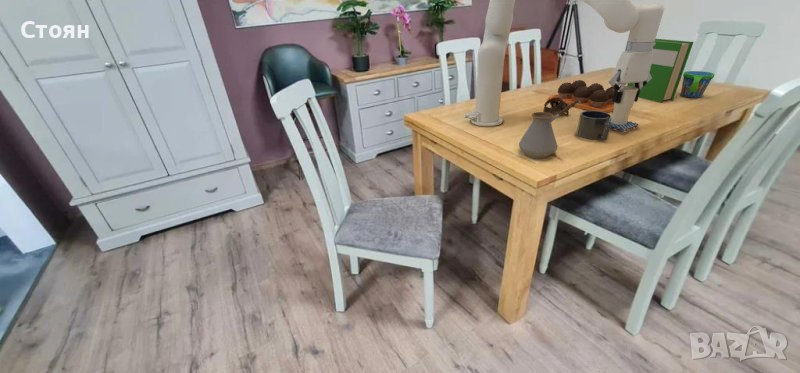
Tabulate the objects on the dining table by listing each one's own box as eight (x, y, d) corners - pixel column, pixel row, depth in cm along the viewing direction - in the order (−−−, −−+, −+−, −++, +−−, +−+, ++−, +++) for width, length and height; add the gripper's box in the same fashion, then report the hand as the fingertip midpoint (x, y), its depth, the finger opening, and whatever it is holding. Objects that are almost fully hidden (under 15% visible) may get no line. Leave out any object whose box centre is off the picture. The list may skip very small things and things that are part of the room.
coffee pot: (536, 164, 101) (544, 116, 94) (510, 151, 110) (515, 107, 103) (585, 148, 109) (596, 103, 102) (556, 138, 118) (564, 95, 111)
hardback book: (673, 100, 148) (693, 41, 136) (660, 102, 146) (680, 43, 134) (636, 91, 163) (652, 38, 151) (624, 93, 161) (640, 39, 149)
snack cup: (680, 90, 160) (688, 68, 155) (708, 94, 153) (717, 71, 148) (672, 98, 151) (680, 74, 146) (702, 101, 144) (711, 77, 139)
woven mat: (594, 127, 125) (595, 121, 124) (611, 121, 130) (612, 116, 129) (621, 135, 117) (623, 129, 116) (639, 128, 122) (641, 123, 121)
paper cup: (616, 126, 119) (626, 90, 113) (605, 120, 125) (613, 86, 118) (632, 124, 120) (642, 89, 114) (620, 119, 125) (629, 85, 119)
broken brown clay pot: (573, 118, 136) (568, 103, 131) (549, 128, 139) (544, 113, 134) (564, 103, 144) (560, 88, 139) (542, 112, 148) (537, 98, 143)
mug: (570, 133, 121) (575, 112, 117) (593, 131, 122) (598, 109, 118) (592, 146, 111) (598, 123, 107) (617, 143, 111) (623, 120, 108)
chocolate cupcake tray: (628, 107, 143) (633, 87, 139) (601, 114, 137) (606, 93, 133) (573, 94, 165) (576, 76, 161) (548, 99, 159) (551, 81, 155)
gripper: (653, 43, 114) (638, 96, 123) (607, 47, 112) (595, 101, 121) (672, 46, 107) (654, 101, 116) (623, 50, 106) (609, 106, 114)
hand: (624, 101), depth 118 cm, fingers closed on paper cup, 5 cm apart
